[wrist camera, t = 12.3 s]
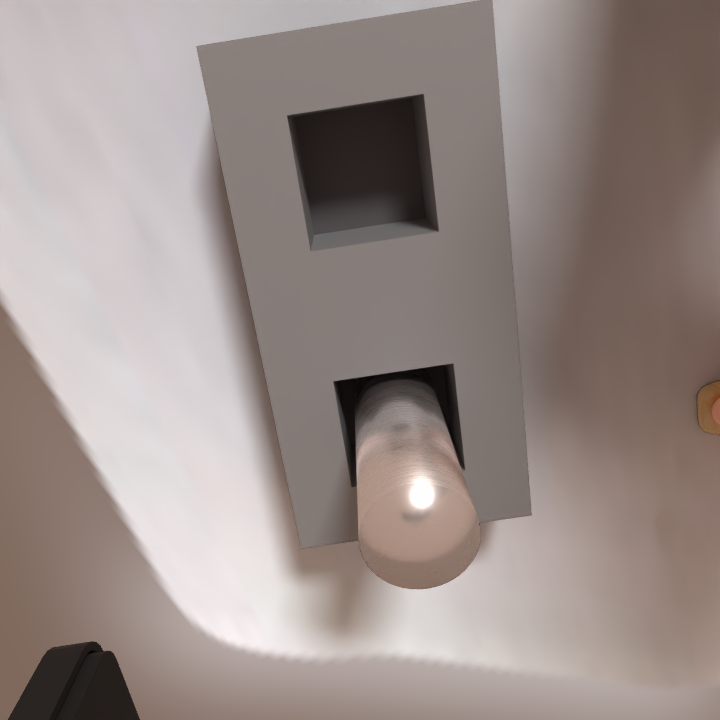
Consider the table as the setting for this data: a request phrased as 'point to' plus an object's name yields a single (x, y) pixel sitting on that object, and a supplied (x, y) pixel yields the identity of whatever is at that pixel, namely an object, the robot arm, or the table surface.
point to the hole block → (375, 241)
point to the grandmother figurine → (709, 408)
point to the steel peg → (410, 484)
